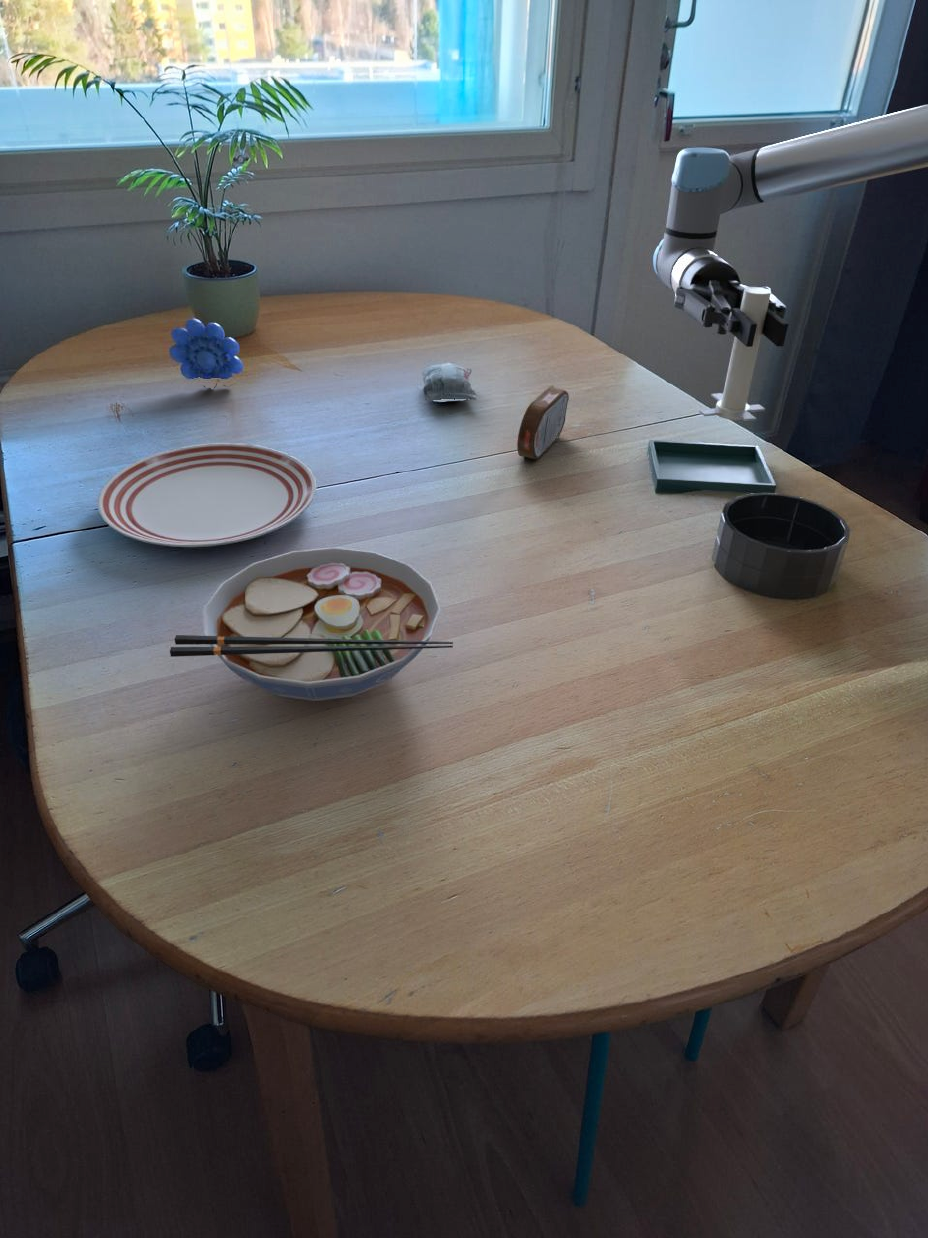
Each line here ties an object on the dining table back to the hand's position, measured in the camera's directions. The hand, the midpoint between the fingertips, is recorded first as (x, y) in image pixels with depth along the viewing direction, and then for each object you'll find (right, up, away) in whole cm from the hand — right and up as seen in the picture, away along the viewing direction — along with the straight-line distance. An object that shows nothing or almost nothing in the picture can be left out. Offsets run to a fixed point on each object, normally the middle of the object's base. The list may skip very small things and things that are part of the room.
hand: (767, 335), depth 105 cm
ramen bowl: (-50, -39, -17) cm, 66 cm away
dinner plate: (-70, -20, +10) cm, 73 cm away
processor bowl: (0, -29, 0) cm, 29 cm away
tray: (-1, -13, +21) cm, 25 cm away
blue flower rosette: (-80, +4, +44) cm, 91 cm away
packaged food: (-39, +3, +44) cm, 59 cm away
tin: (-25, -8, +28) cm, 38 cm away
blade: (-1, -7, +12) cm, 13 cm away
